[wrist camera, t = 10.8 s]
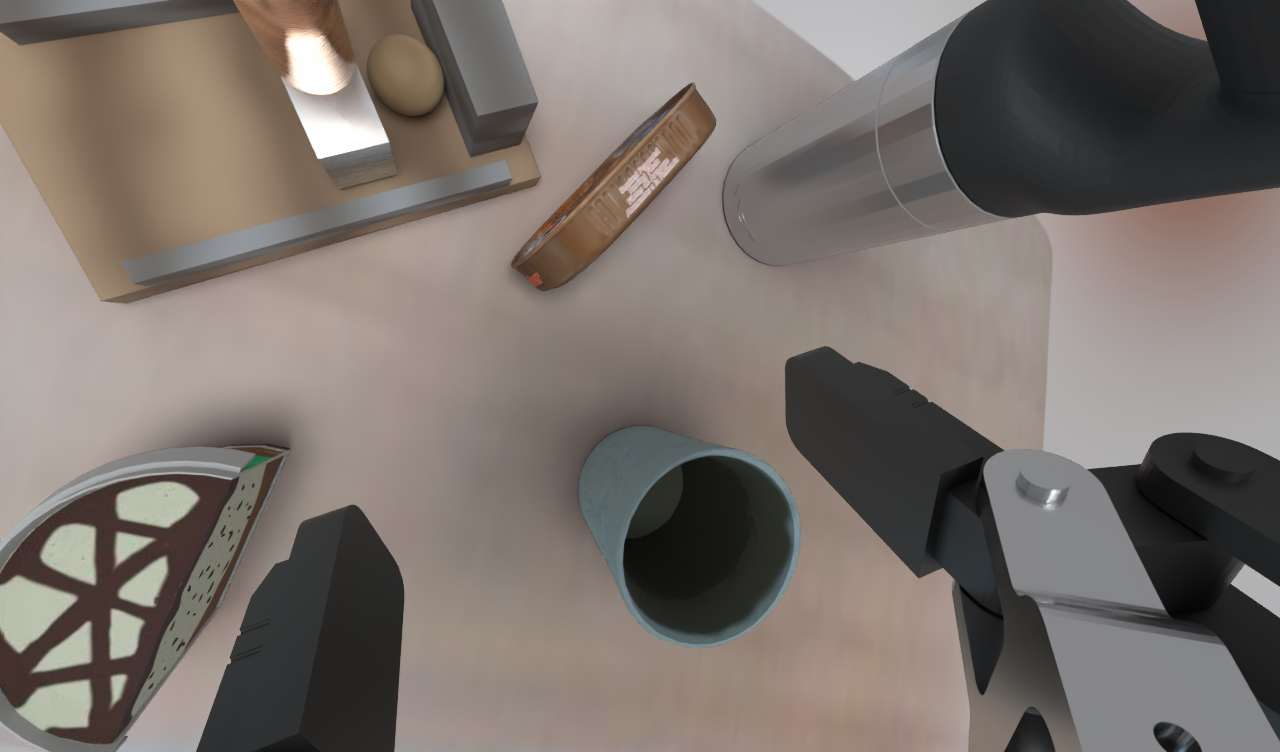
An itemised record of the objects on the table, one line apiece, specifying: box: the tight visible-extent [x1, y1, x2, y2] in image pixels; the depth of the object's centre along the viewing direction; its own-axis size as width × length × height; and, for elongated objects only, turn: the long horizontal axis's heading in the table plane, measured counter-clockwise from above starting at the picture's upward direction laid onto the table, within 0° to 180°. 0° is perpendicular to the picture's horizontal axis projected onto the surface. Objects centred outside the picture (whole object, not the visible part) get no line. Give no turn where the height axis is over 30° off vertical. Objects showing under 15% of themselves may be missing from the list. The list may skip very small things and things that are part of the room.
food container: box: [0, 444, 290, 752], centre depth 23 cm, size 12×6×10 cm, turn 156°
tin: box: [511, 83, 716, 291], centre depth 31 cm, size 15×3×8 cm, turn 136°
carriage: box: [233, 0, 397, 189], centre depth 20 cm, size 3×8×15 cm, turn 20°
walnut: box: [367, 34, 444, 116], centre depth 27 cm, size 4×4×4 cm
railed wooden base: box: [0, 0, 541, 303], centre depth 25 cm, size 22×12×8 cm, turn 110°
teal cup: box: [578, 425, 801, 648], centre depth 31 cm, size 10×10×12 cm
